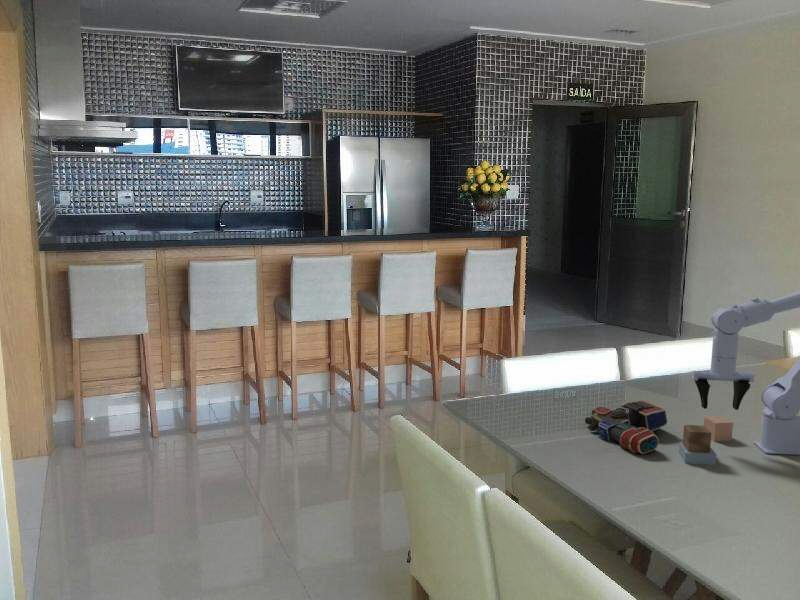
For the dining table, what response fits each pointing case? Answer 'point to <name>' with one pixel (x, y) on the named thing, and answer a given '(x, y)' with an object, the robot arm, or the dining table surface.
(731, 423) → the terracotta block
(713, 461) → the blue slab
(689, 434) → the walnut block
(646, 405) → the red blue plastic piece
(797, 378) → the robot arm
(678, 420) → the dining table surface
